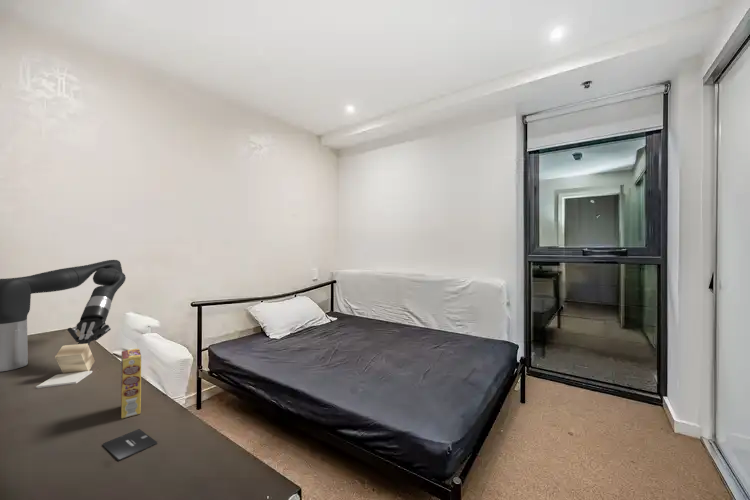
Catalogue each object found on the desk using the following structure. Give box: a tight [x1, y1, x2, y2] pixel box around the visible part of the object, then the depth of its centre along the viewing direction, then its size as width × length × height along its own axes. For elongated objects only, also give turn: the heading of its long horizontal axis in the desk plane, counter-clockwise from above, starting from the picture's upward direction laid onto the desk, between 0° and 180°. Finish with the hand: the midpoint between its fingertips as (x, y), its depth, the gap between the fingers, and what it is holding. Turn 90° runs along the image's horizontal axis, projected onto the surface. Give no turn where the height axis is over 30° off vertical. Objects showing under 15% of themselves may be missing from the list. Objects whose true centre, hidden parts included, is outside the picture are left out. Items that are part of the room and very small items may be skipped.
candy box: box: [120, 348, 142, 419], centre depth 85 cm, size 9×4×15 cm, turn 39°
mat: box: [35, 370, 93, 389], centre depth 105 cm, size 10×10×1 cm
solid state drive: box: [102, 428, 158, 462], centre depth 69 cm, size 7×10×1 cm
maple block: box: [54, 343, 96, 374], centre depth 111 cm, size 5×7×9 cm
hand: (81, 350), depth 113 cm, fingers closed
